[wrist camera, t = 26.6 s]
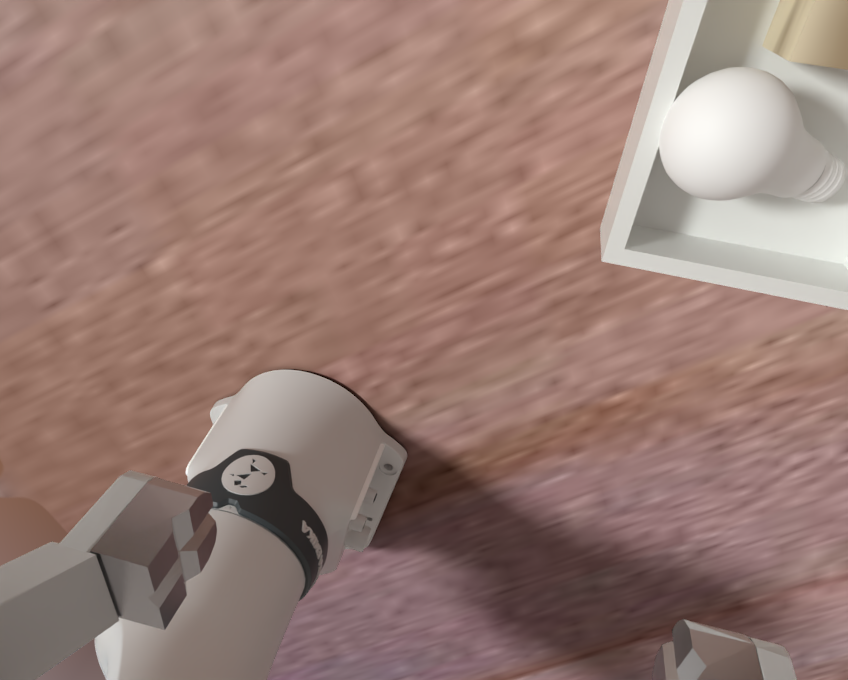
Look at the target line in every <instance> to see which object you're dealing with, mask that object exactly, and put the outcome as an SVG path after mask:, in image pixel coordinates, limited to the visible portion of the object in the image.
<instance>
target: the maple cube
mask: <svg viewBox="0 0 848 680" xmlns="http://www.w3.org/2000/svg"><path fill="white" fill-rule="evenodd" d="M762 47H764V48H766V49H768V50H770V51H772V52H773V53H775V54H777V55H779V56H781V57H782V58H784V59H786V60H788V61H791V62H797V63H804V64H811V65H818V66H825V67H831V68H838V69H845V70H848V0H780V2H779V4H778V7H777V9H776V12H775V14H774V17H773V19H772V22H771V24H770V27H769V30H768V32H767V35H766V37H765V40H764V42H763V45H762Z"/></svg>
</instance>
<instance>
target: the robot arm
mask: <svg viewBox="0 0 848 680" xmlns="http://www.w3.org/2000/svg"><path fill="white" fill-rule="evenodd" d="M210 417H211V420H212V422H213V426H212V428H211V429H210V431H209V432H208V434H207V436H206V437H205V439H204V440H203V442H202V443H201V445H200V446H199V448H198V450H197V451H196V453H195V454H194V456H193V457H192V459H191V461H190V462H189V464H188V466H187V468H186V475H187V477H188V482H189V483H188V484H187V486H185V485H181V484H178V483H174V482H171V481H167V480H164V479H160V478H158V477H154V476H150V475H147V474H143V473H139V472H135V471H132V470H130V471H128V472H126V473H124V474H123V475H121V476H120V477H119V478H118V479H117V480H116V481H115V482H114V483H113V484H112V485H111V487H110V488H109V489H108V490H107V491H106V492H105V493H104V494H103V495H102V497H101V498H100V499H99V500H98V501H97V502H96V503H95V504H94V505H93V507H92V508H91V509H90V510H89V511H88V512H87V513H86V514H85V516H84V517H83V518H82V519H81V520H80V521H79V522H78V523H77V524H76V526H75V527H74V528H73V529H72V530H71V531H70V532H69V533H68V535H67V536H66V537H65V538H64V539H63V540H62V541H61V542H60V543H56V542H50V543H48V544H45V545H44V546H41V547H40V548H37V549H35V550H33V551H31V552H29V553H27V554H25V555H23V556H20V557H19V558H17V559H14V560H12V561H10V562H8V563H6V564H4V565H2V566H0V680H36V679H37V678H38V677H40V676H41V675H43V674H44V673H46V672H47V671H49V670H50V669H51V668H53V667H54V666H56V665H57V664H59V663H60V662H61V661H63V660H64V659H65V658H67V657H69V656H70V655H71V654H73V653H74V652H76V651H77V650H78V649H80V648H81V647H83V646H84V645H85V644H87V643H88V642H90V641H91V640H92V639H94V638H95V649H96V654H97V657H98V661H99V664H100V666H101V669H102V671H103V674H104V676H105V678H106V680H267V678H268V675H269V673H270V670H271V667H272V665H273V662H274V659H275V657H276V654H277V652H278V649H279V647H280V644H281V642H282V639H283V637H284V634H285V632H286V630H287V627H288V625H289V622H290V620H291V618H292V615H293V613H294V611H295V608H296V606H297V604H298V601H300V600H301V599H302V598H303V597H305V595H306V594H307V593H308V591H309V590H310V589H311V588H312V587H313V585H314V584H315V582H316V580H317V579H318V577H319V575H322V574H327V573H331V572H333V571H335V570H336V569H337V567H338V565H339V562H340V560H341V558H342V555H343V553H344V550H345V549H353V550H356V551H359V552H363V550H364V548H365V547H367V546H369V544H370V542H371V540H372V538H373V536H374V534H375V532H376V529H377V527H378V525H379V522H380V520H381V518H382V515H383V513H384V511H385V508H386V506H387V504H388V501H389V499H390V497H391V494H392V492H393V490H394V487H395V485H396V483H397V480H398V478H399V476H400V473H401V471H402V469H403V466H404V464H405V462H406V459H407V452H406V450H405V449H404V448H403V447H402V446H401V445H400V444H399V443H398V442H396V441H395V440H394V439H393V438H391V437H390V436H389V435H387V434H386V433H385V432H384V431H383V430H382V429H381V427H380V426H379V425H378V423H377V422H376V420H375V419H374V417H373V416H372V414H371V413H370V411H369V410H368V409H367V408H366V407H365V405H364V404H363V403H362V402H361V401H360V400H359V399H357V398H356V397H355V396H354V395H353V394H352V393H350V392H349V391H347V390H346V389H345V388H343V387H341V386H340V385H338V384H336V383H334V382H332V381H331V380H328V379H326V378H324V377H321V376H318V375H315V374H312V373H308V372H304V371H298V370H274V371H269V372H266V373H263V374H260V375H258V376H256V377H254V378H253V379H251V380H250V381H248V382H247V383H246V384H245V385H244V387H243V388H242V389H241V390H240V391H239V392H238V393H237V394H236V395H234V396H231V397H227V398H224V399H222V400H219V401H217V402H216V403H215V404H214V406H213V408H212V409H211V411H210ZM672 634H673V641H671V642H668V643H665V644H662V646H661V648H660V650H659V651H658V653H657V655H656V658H655V662H654V667H653V671H652V680H797V678H796V675H795V671H794V668H793V664H792V661H791V658H790V655H789V653H788V652H787V650H786V649H785V648H784V647H783V646H781V645H779V644H776V643H772V642H768V641H764V640H760V639H756V638H752V637H748V636H746V635H744V634H740V633H736V632H732V631H728V630H724V629H720V628H716V627H712V626H708V625H704V624H700V623H696V622H692V621H689V620H685V619H683V620H680V621H678V622H677V623H676V625H675V626H674V628H673V629H672Z"/></svg>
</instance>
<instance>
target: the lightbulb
mask: <svg viewBox="0 0 848 680" xmlns="http://www.w3.org/2000/svg"><path fill="white" fill-rule="evenodd" d="M659 150H660V156H661V161H662V163H663V166H664V168H665V170H666V173H667V174H668V176H669V177H670V178H671V179H672V180H673V182H674V183H675V184H676V185H677V186H678V187H680V188H681V189H682V190H684V191H685V192H687V193H689V194H690V195H693V196H695V197H698V198H701V199H706V200H715V201H725V200H732V199H737V198H742V197H746V196H750V195H753V194H756V193H766V194H771V195H774V196H777V197H782V198H789V197H792V198H795V199H799V200H801V201H805V202H808V203H819V202H822V201H825V200H827V199H829V198H830V197H832V196H833V195H834V194H835V193H836V192H837V191H838V190H839V189H840V188H841V186H842V184H843V183H844V180H845V177H846V167H845V164H844V163H843V162H842V161H841V160H840V159H839V158H837V157H835V156H834V155H833V154H832V153H830V152H828V151H827V150H825V147H824V146H823V145H822V143H821V142H820V141H818V140H817V139H815V138H814V137H812V136H811V135H810V134H809V133H808V132H807V131H806V130H805V128H804V126H803V120H802V116H801V113H800V110H799V107H798V104H797V101H796V99H795V96H794V95H793V93H792V92H791V91H790V89H789V88H788V87H787V86H786V85H785V83H784V82H783V81H782V80H780V79H779V78H777V77H776V76H774V75H772V74H770V73H769V72H767V71H763V70H759V69H754V68H750V67H731V68H726V69H723V70H719V71H716V72H712V73H710V74H708V75H706V76H704V77H702V78H700V79H698V80H696V81H695V82H693V83H692V84H691V85H689V86H688V87H687V88H686V89H685V90H684V91H683V92H682V93H681V94H680V95H679V96H678V97H677V98H676V100H675V101H674V103H673V104H672V106H671V107H670V109H669V110H668V112H667V114H666V116H665V119H664V121H663V124H662V128H661V132H660V136H659Z"/></svg>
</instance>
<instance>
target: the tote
mask: <svg viewBox="0 0 848 680" xmlns="http://www.w3.org/2000/svg"><path fill="white" fill-rule="evenodd" d="M779 2H780V0H669V1H668V4H667V8H666V11H665V14H664V18H663V21H662V24H661V28H660V31H659V34H658V38H657V41H656V44H655V47H654V51H653V54H652V57H651V61H650V64H649V67H648V71H647V74H646V77H645V81H644V84H643V87H642V91H641V94H640V97H639V101H638V104H637V107H636V110H635V114H634V117H633V120H632V124H631V127H630V130H629V134H628V137H627V140H626V144H625V147H624V150H623V154H622V157H621V160H620V164H619V167H618V170H617V173H616V177H615V180H614V183H613V187H612V190H611V193H610V197H609V200H608V203H607V207H606V210H605V213H604V217H603V220H602V223H601V227H600V238H601V259H602V262H607V263H612V264H618V265H623V266H628V267H633V268H638V269H643V270H648V271H653V272H658V273H663V274H668V275H673V276H678V277H683V278H688V279H693V280H698V281H704V282H709V283H714V284H719V285H724V286H729V287H734V288H739V289H744V290H749V291H754V292H759V293H764V294H769V295H774V296H779V297H785V298H790V299H795V300H800V301H805V302H810V303H815V304H820V305H825V306H830V307H835V308H840V309H845V310H848V70H845V69H838V68H831V67H825V66H818V65H811V64H804V63H797V62H791V61H788V60H786V59H784V58H782V57H781V56H779V55H777V54H775V53H773V52H772V51H770V50H768V49H766V48H764V47H762V45H763V42H764V40H765V37H766V35H767V32H768V30H769V27H770V24H771V22H772V19H773V17H774V14H775V12H776V9H777V7H778V4H779ZM731 67H750V68H754V69H759V70H763V71H767V72H769V73H770V74H772V75H774V76H776V77H777V78H779V79H780V80H782V81H783V82H784V83H785V85H786V86H787V87H788V88H789V89H790V91H791V92H792V93H793V95H794V96H795V99H796V101H797V104H798V107H799V110H800V113H801V116H802V120H803V126H804V128H805V130H806V131H807V132H808V133H809V134H810V135H811V136H812V137H814V138H815V139H817V140H818V141H820V142H821V143H822V145H823V146H824V147H825V150H827V151H828V152H830V153H832V154H833V155H834V156H835V157H837V158H839V159H840V160H841V161H842V162H843V163H844V164H845V167H846V177H845V180H844V183H843V184H842V186H841V188H840V189H839V190H838V191H837V192H836V193H835V194H834V195H833V196H832V197H830V198H829V199H827V200H825V201H822V202H819V203H808V202H805V201H801V200H799V199H795V198H792V197H789V198H782V197H777V196H774V195H771V194H766V193H756V194H753V195H750V196H746V197H742V198H737V199H732V200H725V201H715V200H706V199H701V198H698V197H695V196H693V195H690V194H689V193H687V192H685V191H684V190H682V189H681V188H680V187H678V186H677V185H676V184H675V183H674V182H673V180H672V179H671V178H670V177H669V176H668V174H667V173H666V170H665V168H664V166H663V163H662V161H661V156H660V150H659V136H660V132H661V128H662V124H663V121H664V119H665V116H666V114H667V112H668V110H669V109H670V107H671V106H672V104H673V103H674V101H675V100H676V98H677V97H678V96H679V95H680V94H681V93H682V92H683V91H684V90H685V89H686V88H687V87H688V86H689V85H691V84H692V83H693V82H695V81H696V80H698V79H700V78H702V77H704V76H706V75H708V74H710V73H712V72H716V71H719V70H723V69H726V68H731Z"/></svg>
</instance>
